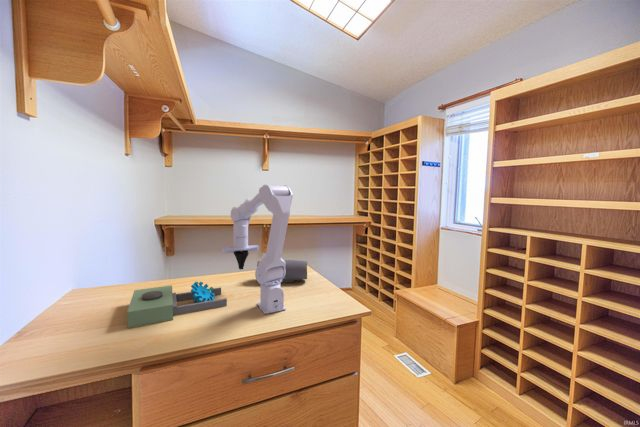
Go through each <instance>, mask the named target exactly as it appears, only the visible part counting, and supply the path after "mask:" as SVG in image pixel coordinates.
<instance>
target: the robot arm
mask: <svg viewBox="0 0 640 427" xmlns="http://www.w3.org/2000/svg"><path fill="white" fill-rule="evenodd" d="M293 196H294V194H293V192H292V189H291V188H290V186H288V185H276V184H275V185H273V184H272V185H271V184H263V185H261V187H259V190H258V193H257V194H256V195H255V196H254V197H253V198H252V199H251V198H246V199H245V200H244V201H243V202H242V203H241V204H240V205H239V206H238V207H237V206H233V207H232V208H231V211H230V220H232V222H233V246H227V247H221V248H222V249H221V252H222V254H228V253H230V254H231V253H233V254H234V257H235V259H236V262H237V266H238V269H239V270H244V267H245V263H246V260H247V258H248V256H249V252H250V251H253V252H254V251H259V250H260V247H259V245H258V244H256V245H253V244H251V245H249V225H250V220H251V219H252V216H253V215H254V214H255V213H256V212H258V211H259V207H261V206H262V205H264V206H265V208H266V209H267V211H269V212H271V213H272V218H271V225H270V230H269V237H268V242H267V246H266V247H267V248H266V252H265V256H264V257H263V258H261V259H260V260H258V261H259V264H258V267H257V266H256V269H255V273H254V276H255V279H256V281H257V282H258V284H259V285H260V287H259V288H260V294H259V295H260V301H258V302H256V305H257V306H258V307H259V309H260V310H261V311H262V312H263V314H264V315H266V314H270V313H276V312H280V311H285V310H287V307H286V306H285V305H284V302H285V300H284V299H285V298H284V296H285V294H284V291H283V289H282V285H281V283H283V282H282V279H283V278H284V277H285V274H286V270H285V265H286V263H285V261H284V260H285V259H283V257H282V253H283V249H284V244H285V239H286V235H287V234H286V233H287V229H288V226H289V225H288V224H289V218H290V214H291V206H292V201H293Z"/></svg>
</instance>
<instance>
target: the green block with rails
mask: <svg viewBox="0 0 640 427" xmlns="http://www.w3.org/2000/svg"><path fill="white" fill-rule="evenodd" d="M211 293H214V294H215V296H220V295H222V287H213V289H212V292H211ZM194 294H195V293H192V292H191V291H188V292H187V291H186V292H180V293H176V292H173V284H170V285H163V286H156V287H149V288H147V287H146V288H142V289H134V291H133V294H132V296H131V299H130V302H129V305H128V308H127V311H126V320H127V329H131V328H136V327H143V326H146V325H153V324H157V323H158V324H159V323H164V322H169V321H173V320H174V316H178V315H184V314H189V313H195V312H200V311H205V310H210V309H212V310H213V309H217V308H222V307H227V306H228V298H226V297H225V298H224V297H223V298H219V299H215V300H211V301H208V300H207V301H205V300H204V301H205V302H204V301H201V302H199V301H198V302H193V303H189V304H188V303H187V304H182V305H177V304H178V302H181V301H188V300H194V299H195V298H194V297H193V295H194Z"/></svg>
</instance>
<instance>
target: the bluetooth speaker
mask: <svg viewBox="0 0 640 427" xmlns="http://www.w3.org/2000/svg"><path fill="white" fill-rule="evenodd" d="M283 260H284V261H285V263H286V265H285V270H286V274H285V277H284V278H283V279H282V282H281V283H294V282H295V281H301V280H308V261H307V260H296V259H294V260H293V259H291V260H290V259H283ZM259 261H260V260H258V261H257V263H256V268H257V267H258V264H259Z"/></svg>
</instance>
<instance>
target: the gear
mask: <svg viewBox="0 0 640 427" xmlns="http://www.w3.org/2000/svg"><path fill="white" fill-rule="evenodd" d="M203 284H204V282H202V281H200V282H198V281H195V282H194V283H193V284H192V285H191V286H190V287H191V289H190V292H192V293H195V294H194V295H193V297H194V298H195V299H192V301H193V303H197V302H198V303H199V302H205V301H211V300H216V298H215V296H216V295H215V294H214V293H211V292H212V289H213V288H214V287H213V286H210V287H209V285H208V283H205V284H204V285H203ZM208 287H209V288H208Z"/></svg>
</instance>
